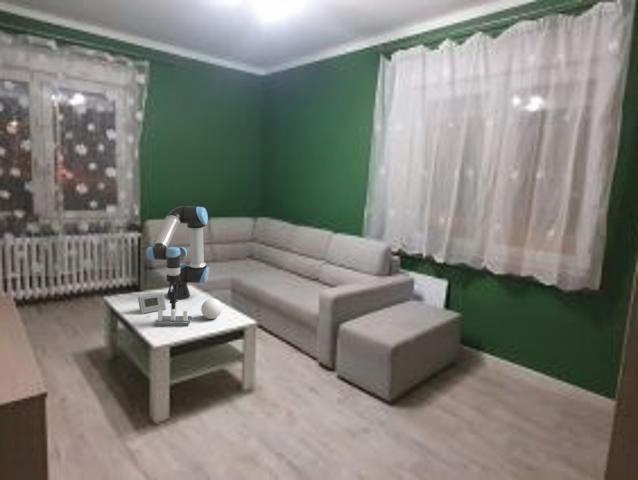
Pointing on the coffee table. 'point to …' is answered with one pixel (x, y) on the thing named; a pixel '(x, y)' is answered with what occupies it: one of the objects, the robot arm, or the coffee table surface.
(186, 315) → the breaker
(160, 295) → the digital clock
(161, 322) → the board
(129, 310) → the coffee table surface
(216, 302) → the decorative ball
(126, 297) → the coffee table surface
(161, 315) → the breaker
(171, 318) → the breaker
